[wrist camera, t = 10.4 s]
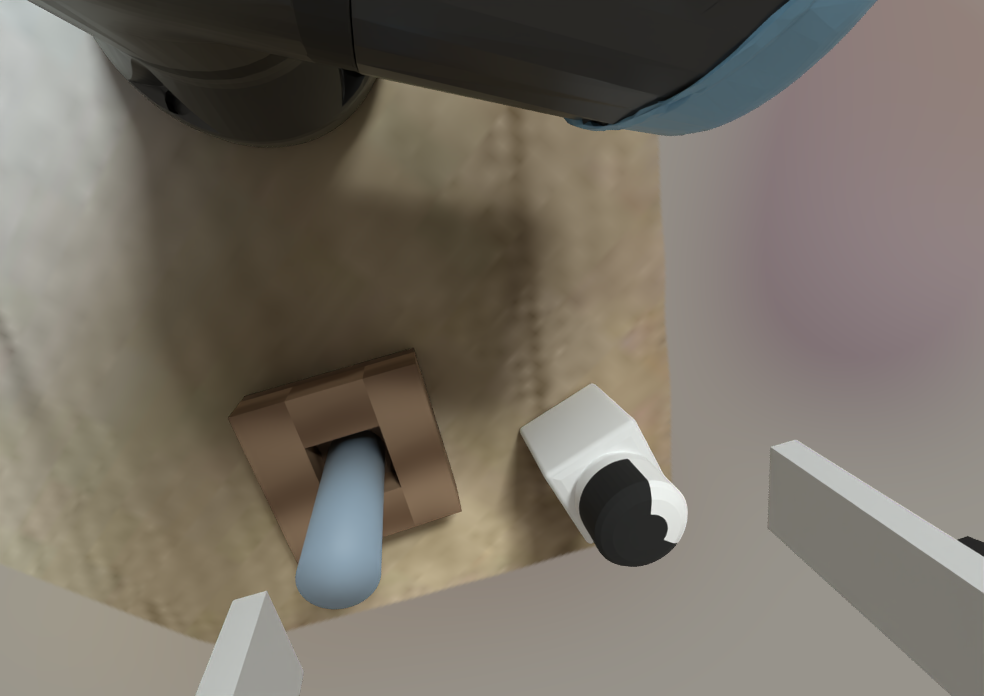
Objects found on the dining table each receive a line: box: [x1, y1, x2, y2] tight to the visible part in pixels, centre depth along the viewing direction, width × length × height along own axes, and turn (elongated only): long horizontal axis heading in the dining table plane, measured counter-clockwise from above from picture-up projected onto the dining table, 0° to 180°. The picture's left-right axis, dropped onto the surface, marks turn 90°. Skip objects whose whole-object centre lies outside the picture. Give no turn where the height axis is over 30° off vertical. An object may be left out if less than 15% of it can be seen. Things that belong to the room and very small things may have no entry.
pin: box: [296, 430, 385, 609], centre depth 29 cm, size 4×4×12 cm
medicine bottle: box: [520, 383, 688, 567], centre depth 33 cm, size 7×7×12 cm
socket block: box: [228, 348, 462, 564], centre depth 33 cm, size 12×12×4 cm
